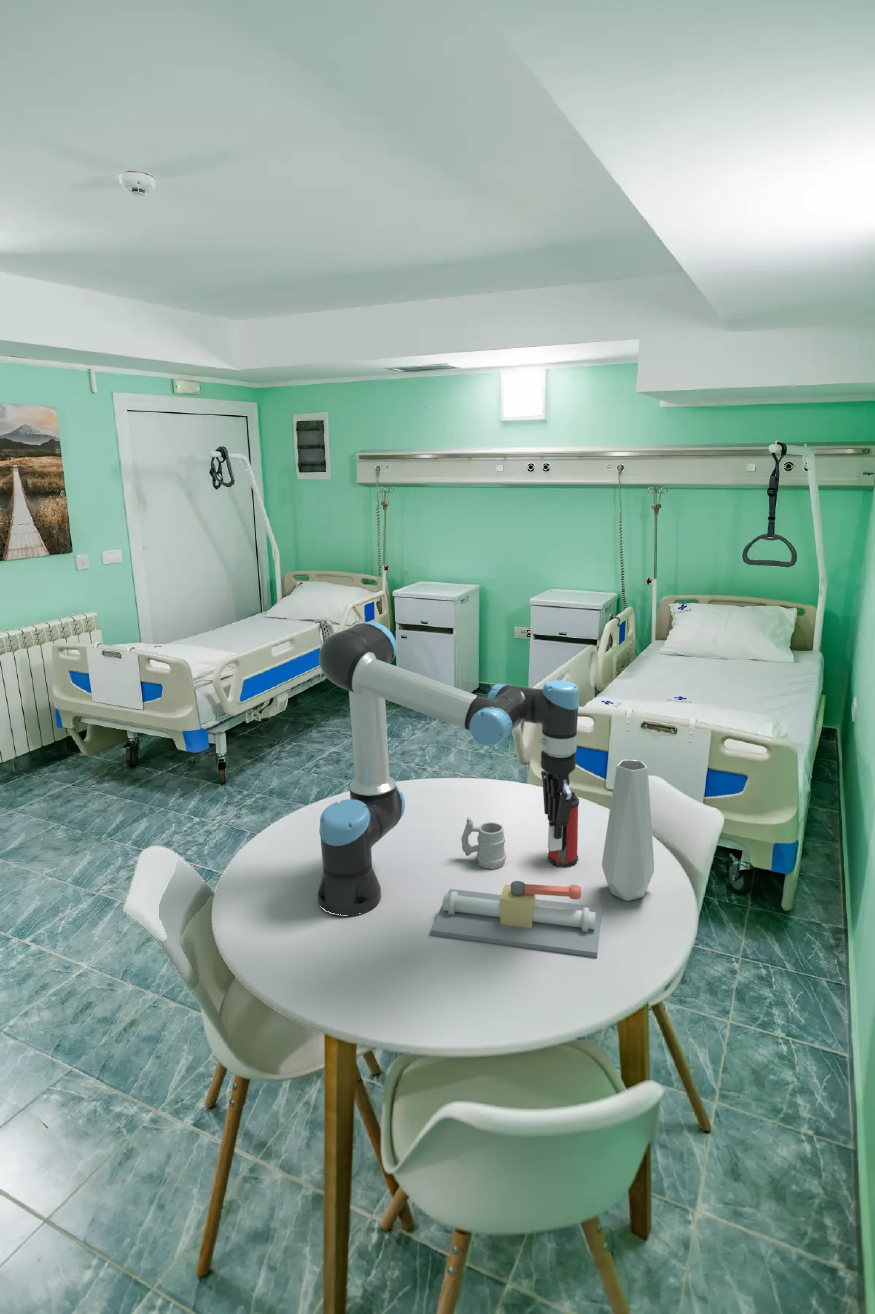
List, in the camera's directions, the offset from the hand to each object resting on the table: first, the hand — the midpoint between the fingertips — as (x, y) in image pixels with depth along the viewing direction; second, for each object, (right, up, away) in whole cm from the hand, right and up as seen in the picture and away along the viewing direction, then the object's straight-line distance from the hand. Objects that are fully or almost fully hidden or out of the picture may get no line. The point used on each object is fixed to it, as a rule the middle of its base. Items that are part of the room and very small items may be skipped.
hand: (554, 848), depth 170 cm
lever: (-2, -9, -3) cm, 10 cm away
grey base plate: (-8, -17, 0) cm, 19 cm away
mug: (-14, -10, +27) cm, 32 cm away
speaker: (+6, -10, +27) cm, 29 cm away
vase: (+19, -13, +11) cm, 26 cm away
